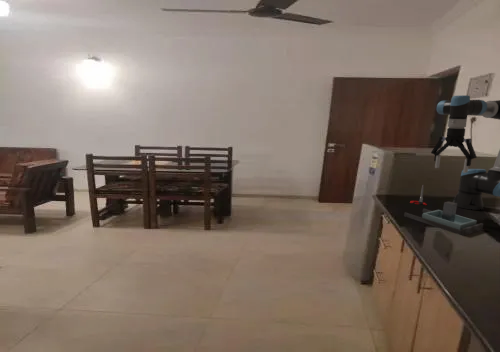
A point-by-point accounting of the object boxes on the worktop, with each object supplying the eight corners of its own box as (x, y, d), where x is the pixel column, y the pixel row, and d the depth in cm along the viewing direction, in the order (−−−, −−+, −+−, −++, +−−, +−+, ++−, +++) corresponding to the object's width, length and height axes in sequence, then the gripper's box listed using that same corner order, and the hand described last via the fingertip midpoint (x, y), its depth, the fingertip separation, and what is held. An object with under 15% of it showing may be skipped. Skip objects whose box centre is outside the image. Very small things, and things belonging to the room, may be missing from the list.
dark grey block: (445, 220, 155) (448, 201, 153) (454, 223, 152) (457, 203, 150) (441, 221, 153) (444, 202, 151) (449, 224, 150) (452, 204, 148)
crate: (437, 216, 164) (438, 209, 163) (475, 228, 148) (476, 220, 148) (421, 220, 157) (422, 213, 156) (459, 233, 142) (460, 225, 141)
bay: (423, 213, 172) (424, 206, 171) (481, 231, 147) (483, 223, 147) (403, 218, 164) (404, 210, 163) (462, 238, 139) (463, 229, 138)
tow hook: (408, 202, 196) (413, 205, 187) (410, 182, 194) (416, 184, 185) (422, 203, 195) (428, 206, 186) (424, 182, 193) (431, 185, 184)
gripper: (427, 126, 162) (422, 166, 166) (481, 129, 141) (474, 175, 146) (435, 126, 166) (430, 165, 170) (489, 128, 145) (482, 173, 149)
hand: (450, 170), depth 158 cm, fingers open, 13 cm apart
